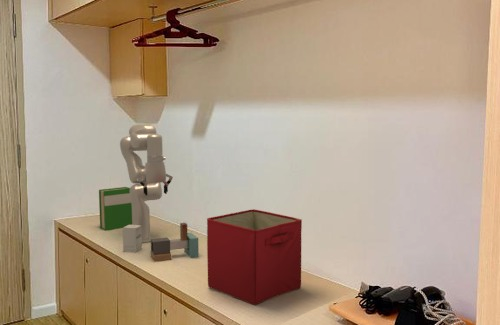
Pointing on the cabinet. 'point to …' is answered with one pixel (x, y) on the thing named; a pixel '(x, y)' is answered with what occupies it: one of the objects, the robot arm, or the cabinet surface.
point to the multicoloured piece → (183, 240)
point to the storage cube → (254, 254)
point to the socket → (192, 246)
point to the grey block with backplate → (160, 249)
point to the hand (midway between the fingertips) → (155, 194)
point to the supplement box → (132, 238)
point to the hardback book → (115, 208)
